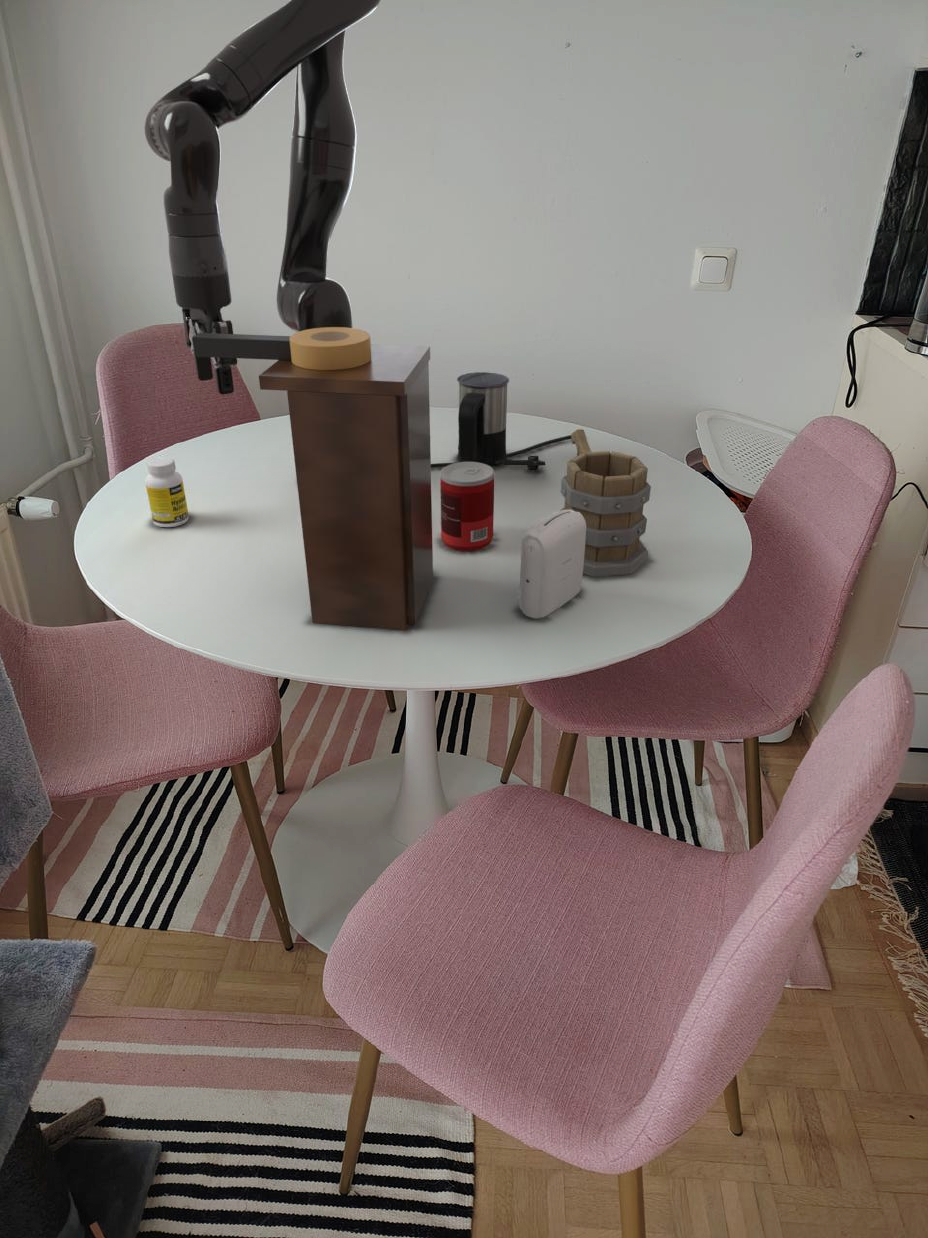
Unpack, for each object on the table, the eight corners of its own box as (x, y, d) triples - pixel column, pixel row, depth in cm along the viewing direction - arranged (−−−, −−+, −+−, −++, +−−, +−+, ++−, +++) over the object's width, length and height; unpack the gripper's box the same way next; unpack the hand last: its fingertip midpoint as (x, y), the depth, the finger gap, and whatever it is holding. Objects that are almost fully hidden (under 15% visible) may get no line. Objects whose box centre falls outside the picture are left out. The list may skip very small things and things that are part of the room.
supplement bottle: (179, 529, 131) (167, 469, 125) (146, 526, 131) (134, 466, 126) (195, 515, 135) (185, 456, 130) (164, 512, 136) (152, 453, 131)
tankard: (656, 573, 119) (669, 471, 111) (568, 580, 117) (575, 477, 109) (611, 513, 136) (620, 421, 128) (534, 519, 134) (538, 426, 126)
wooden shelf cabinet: (289, 621, 108) (258, 375, 92) (323, 565, 121) (301, 341, 104) (413, 631, 106) (404, 381, 90) (434, 573, 119) (430, 346, 102)
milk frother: (457, 450, 160) (457, 370, 152) (542, 451, 159) (546, 371, 151) (454, 479, 148) (454, 394, 140) (546, 480, 147) (550, 395, 139)
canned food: (499, 533, 130) (501, 464, 124) (483, 556, 123) (484, 484, 117) (452, 526, 132) (451, 458, 126) (433, 548, 125) (432, 477, 119)
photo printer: (540, 623, 107) (545, 534, 101) (513, 612, 110) (516, 524, 103) (586, 592, 114) (593, 507, 108) (559, 582, 116) (565, 498, 110)
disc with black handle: (379, 351, 100) (378, 328, 99) (360, 372, 93) (358, 347, 92) (213, 344, 103) (210, 322, 102) (182, 364, 96) (177, 340, 94)
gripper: (245, 274, 115) (258, 394, 123) (208, 260, 125) (222, 371, 133) (190, 279, 111) (207, 402, 120) (156, 264, 121) (174, 378, 130)
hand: (215, 386), depth 126 cm, fingers open, 8 cm apart
